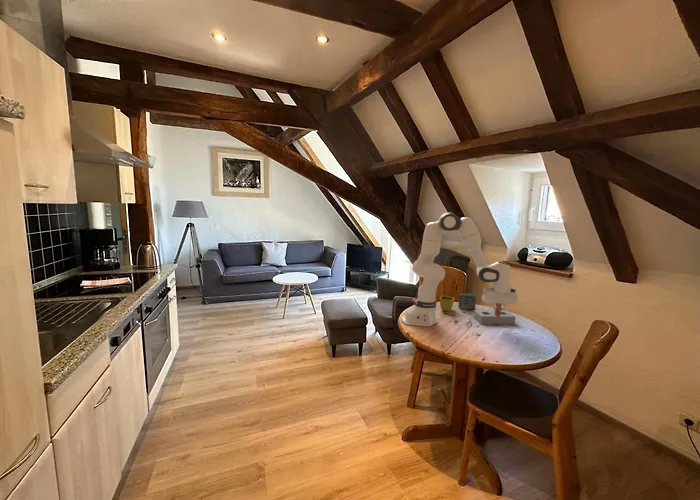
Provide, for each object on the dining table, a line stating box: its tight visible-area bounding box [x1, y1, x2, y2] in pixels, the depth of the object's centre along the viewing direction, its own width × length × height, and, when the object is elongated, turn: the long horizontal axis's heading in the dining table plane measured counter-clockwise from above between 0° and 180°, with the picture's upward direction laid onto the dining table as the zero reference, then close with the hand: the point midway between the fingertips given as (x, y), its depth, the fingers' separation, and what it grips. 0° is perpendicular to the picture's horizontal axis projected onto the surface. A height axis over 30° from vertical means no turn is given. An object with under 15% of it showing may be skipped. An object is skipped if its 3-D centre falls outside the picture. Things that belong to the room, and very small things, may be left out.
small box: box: [458, 292, 477, 311], centre depth 227 cm, size 11×6×10 cm, turn 84°
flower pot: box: [439, 295, 455, 312], centre depth 223 cm, size 9×9×9 cm
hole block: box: [473, 309, 516, 325], centre depth 205 cm, size 22×11×5 cm, turn 91°
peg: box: [495, 303, 502, 317], centre depth 192 cm, size 3×3×10 cm
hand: (498, 310), depth 192 cm, fingers closed on peg, 3 cm apart
